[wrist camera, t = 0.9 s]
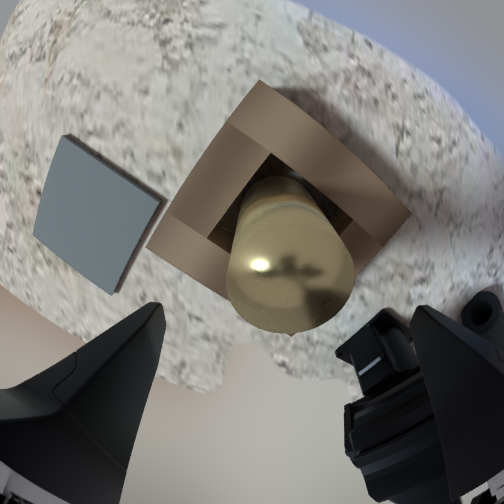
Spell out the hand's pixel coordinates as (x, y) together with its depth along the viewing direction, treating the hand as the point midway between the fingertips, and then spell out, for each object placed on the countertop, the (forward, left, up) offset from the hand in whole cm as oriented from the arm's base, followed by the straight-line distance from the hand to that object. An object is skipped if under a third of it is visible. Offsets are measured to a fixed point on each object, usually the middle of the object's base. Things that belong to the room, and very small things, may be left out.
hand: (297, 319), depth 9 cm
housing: (0, 0, -11) cm, 11 cm away
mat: (+12, +9, -11) cm, 19 cm away
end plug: (0, 0, -11) cm, 11 cm away
